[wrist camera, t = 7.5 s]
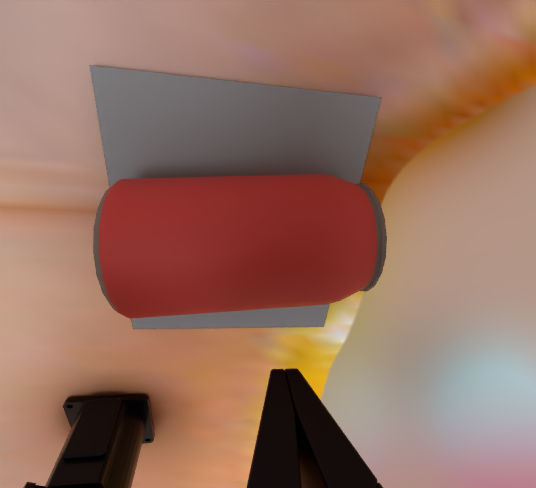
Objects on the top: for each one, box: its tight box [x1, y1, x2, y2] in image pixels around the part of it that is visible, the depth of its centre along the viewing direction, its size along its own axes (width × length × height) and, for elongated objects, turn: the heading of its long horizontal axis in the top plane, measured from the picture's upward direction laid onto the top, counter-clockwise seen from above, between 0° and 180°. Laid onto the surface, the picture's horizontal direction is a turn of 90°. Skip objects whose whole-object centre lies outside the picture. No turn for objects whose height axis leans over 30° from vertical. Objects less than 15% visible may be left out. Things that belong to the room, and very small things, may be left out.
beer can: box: [93, 174, 387, 319], centre depth 15 cm, size 7×7×12 cm
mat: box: [90, 65, 381, 329], centre depth 18 cm, size 16×14×1 cm
